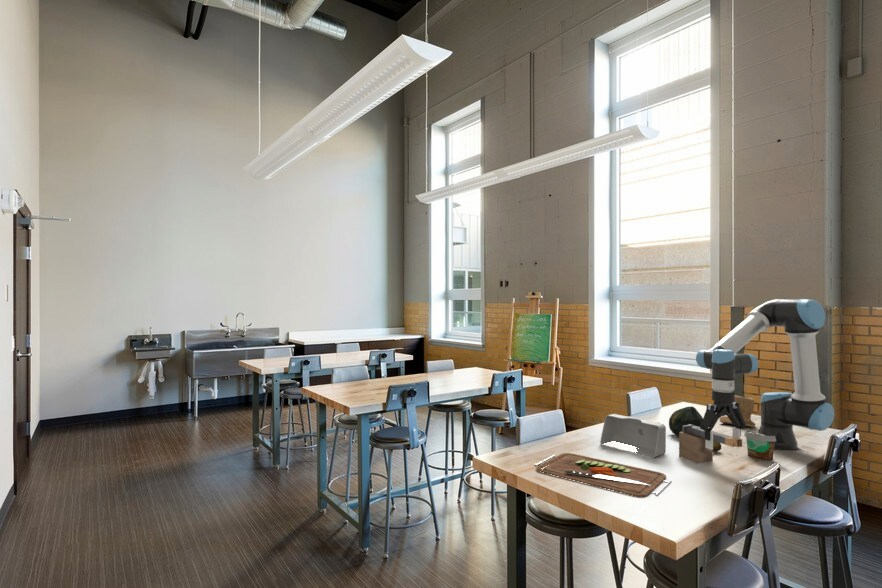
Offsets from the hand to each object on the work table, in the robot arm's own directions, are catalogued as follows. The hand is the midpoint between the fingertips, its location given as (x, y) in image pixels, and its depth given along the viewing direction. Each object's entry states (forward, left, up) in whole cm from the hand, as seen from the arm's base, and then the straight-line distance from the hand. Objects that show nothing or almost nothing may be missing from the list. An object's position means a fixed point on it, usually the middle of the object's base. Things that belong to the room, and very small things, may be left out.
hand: (722, 447), depth 190 cm
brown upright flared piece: (-66, -48, -8) cm, 82 cm away
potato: (-13, -21, -8) cm, 26 cm away
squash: (-24, -40, -8) cm, 47 cm away
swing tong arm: (+2, -4, +2) cm, 5 cm away
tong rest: (0, -5, -8) cm, 10 cm away
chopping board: (+47, -11, -9) cm, 49 cm away
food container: (-25, -6, -8) cm, 27 cm away
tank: (+12, -32, -9) cm, 36 cm away
